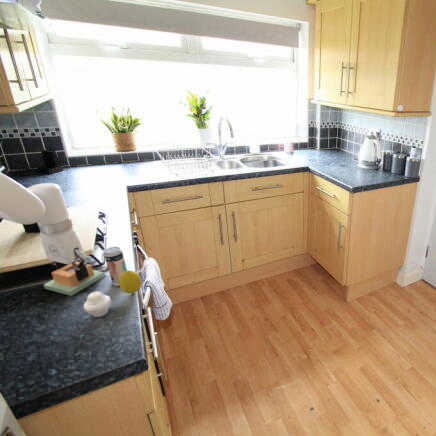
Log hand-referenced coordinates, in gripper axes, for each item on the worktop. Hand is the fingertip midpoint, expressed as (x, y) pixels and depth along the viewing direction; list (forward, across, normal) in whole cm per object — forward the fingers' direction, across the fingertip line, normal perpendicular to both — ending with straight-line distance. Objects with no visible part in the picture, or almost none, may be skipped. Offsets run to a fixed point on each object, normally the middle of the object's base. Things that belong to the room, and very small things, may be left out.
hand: (74, 275), depth 100 cm
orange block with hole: (+1, 0, 0) cm, 1 cm away
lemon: (+3, +22, +1) cm, 22 cm away
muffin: (+2, +20, -9) cm, 22 cm away
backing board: (+2, 0, 0) cm, 2 cm away
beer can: (+3, +14, +4) cm, 14 cm away
